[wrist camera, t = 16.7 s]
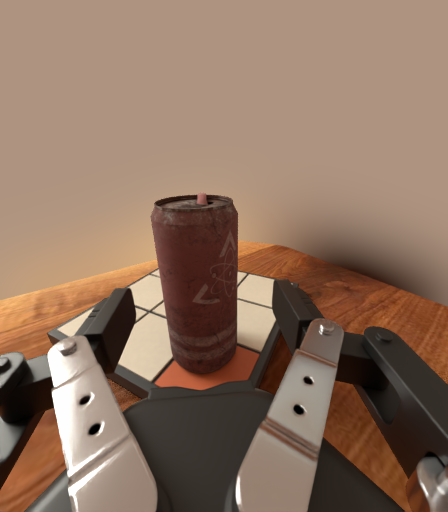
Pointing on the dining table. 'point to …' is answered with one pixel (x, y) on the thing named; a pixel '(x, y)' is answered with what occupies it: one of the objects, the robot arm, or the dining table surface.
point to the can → (198, 277)
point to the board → (158, 343)
